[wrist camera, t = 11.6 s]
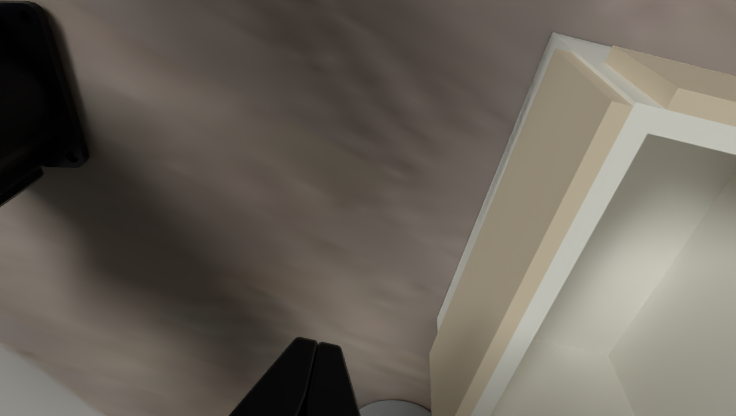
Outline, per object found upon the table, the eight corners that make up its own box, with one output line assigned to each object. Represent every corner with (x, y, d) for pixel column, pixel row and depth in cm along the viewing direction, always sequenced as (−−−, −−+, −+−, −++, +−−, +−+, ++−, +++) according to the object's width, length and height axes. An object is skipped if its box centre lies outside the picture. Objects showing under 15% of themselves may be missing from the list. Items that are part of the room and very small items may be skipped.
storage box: (424, 323, 25) (428, 468, 18) (544, 13, 17) (625, 74, 11) (605, 363, 25) (671, 518, 19) (802, 78, 17) (1031, 176, 11)
